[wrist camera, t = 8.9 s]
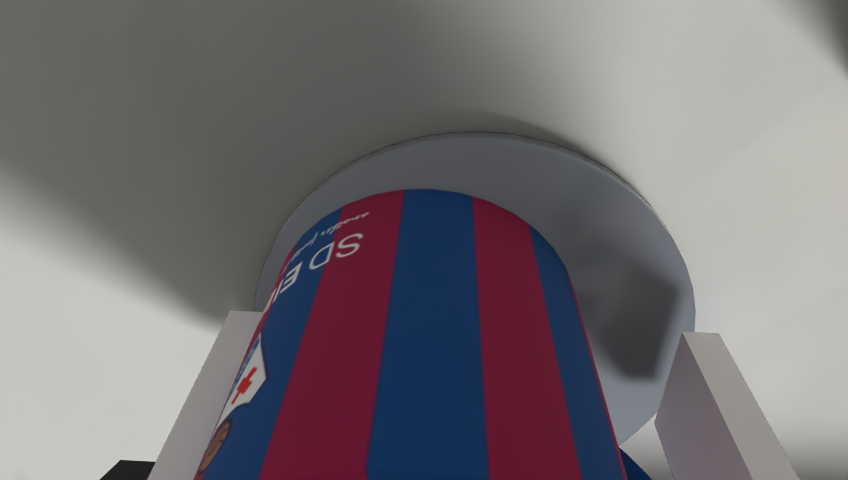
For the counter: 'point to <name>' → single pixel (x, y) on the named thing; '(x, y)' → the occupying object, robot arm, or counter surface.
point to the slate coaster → (563, 229)
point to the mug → (418, 356)
